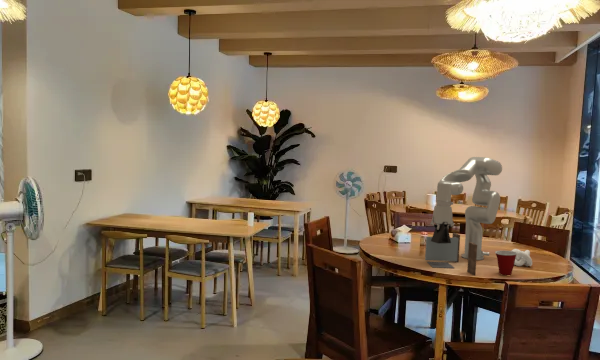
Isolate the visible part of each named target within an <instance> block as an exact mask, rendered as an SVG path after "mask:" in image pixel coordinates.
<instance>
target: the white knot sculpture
mask: <svg viewBox="0 0 600 360" xmlns="http://www.w3.org/2000/svg"><path fill="white" fill-rule="evenodd" d="M511 251H514V252H517V255H516V259H515V262H514V266H515V265H516V266H515V267H522V266H523V265H524V266H526V267H528V266H530V267H531V266H533V259H532V258H531V256H530V255H531V251H530V250H529V249H526V250H524V251H523V250H520V249H518V248H513V249H512V250H511Z"/></svg>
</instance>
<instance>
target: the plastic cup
mask: <svg viewBox="0 0 600 360" xmlns="http://www.w3.org/2000/svg"><path fill="white" fill-rule="evenodd" d="M494 253H495V256H496V259H497V267H498V273H500V274H499V275H501V274H502V276H507V275H510V276H511V275H512V274H513V269H514V266H515V265H514V262H515V259H516V255H517V252H514V251H512V250H496V251H495V252H494Z"/></svg>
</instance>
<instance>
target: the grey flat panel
mask: <svg viewBox="0 0 600 360" xmlns="http://www.w3.org/2000/svg"><path fill="white" fill-rule="evenodd" d="M431 239H432V236H426V238H425V256H424V260H425V261H435V262H454V261H457V253H458V238H452V237H450V240H451V243H435V242H432V241H431Z"/></svg>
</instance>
